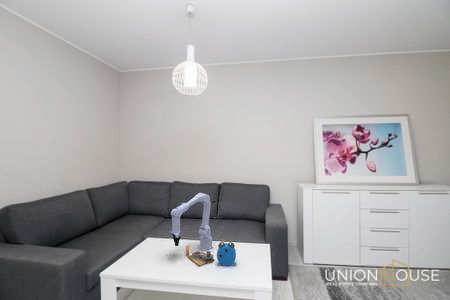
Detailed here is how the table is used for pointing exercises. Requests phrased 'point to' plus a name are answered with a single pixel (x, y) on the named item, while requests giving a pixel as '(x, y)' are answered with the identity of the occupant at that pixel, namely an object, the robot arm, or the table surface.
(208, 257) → the wooden board with socket
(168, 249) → the table surface
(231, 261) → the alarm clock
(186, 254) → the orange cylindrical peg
